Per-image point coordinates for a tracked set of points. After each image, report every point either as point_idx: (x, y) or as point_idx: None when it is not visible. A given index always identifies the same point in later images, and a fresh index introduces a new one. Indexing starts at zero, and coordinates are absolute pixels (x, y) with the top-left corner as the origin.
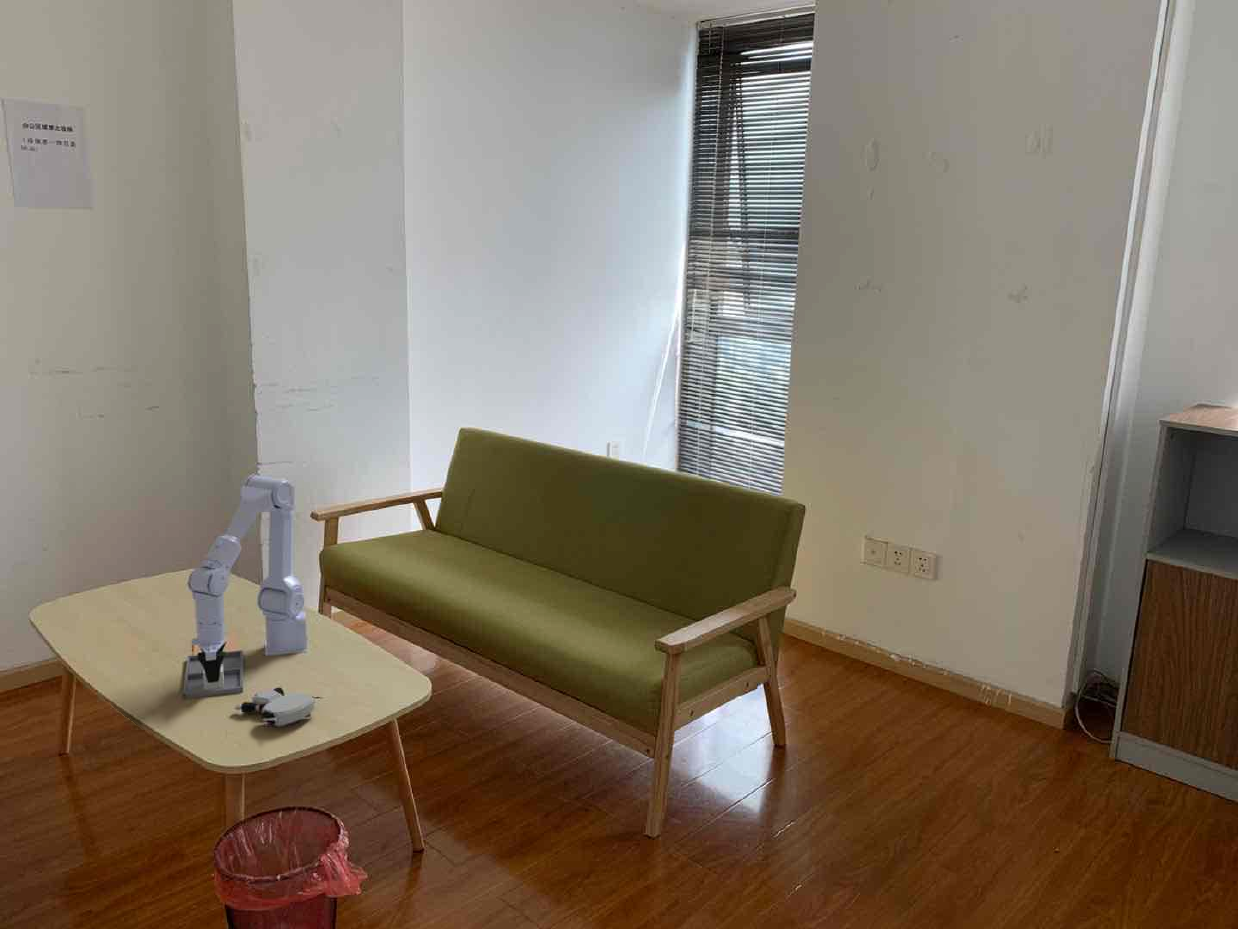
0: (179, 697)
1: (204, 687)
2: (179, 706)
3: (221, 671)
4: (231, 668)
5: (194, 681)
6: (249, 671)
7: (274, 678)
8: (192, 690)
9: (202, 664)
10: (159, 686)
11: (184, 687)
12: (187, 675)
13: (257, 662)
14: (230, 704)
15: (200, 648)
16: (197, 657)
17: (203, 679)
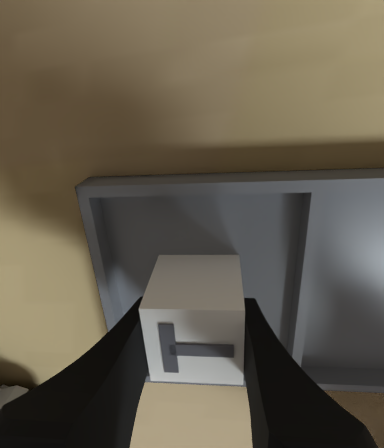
0: (126, 157)
1: (155, 265)
2: (38, 165)
3: (153, 377)
4: (346, 342)
5: (264, 214)
6: None
7: (222, 429)
8: (168, 212)
9: (52, 380)
10: (283, 30)
11: (149, 188)
12: (297, 192)
13: (375, 404)
14: (53, 327)
15: (267, 419)
16: (9, 419)
17: (146, 288)
